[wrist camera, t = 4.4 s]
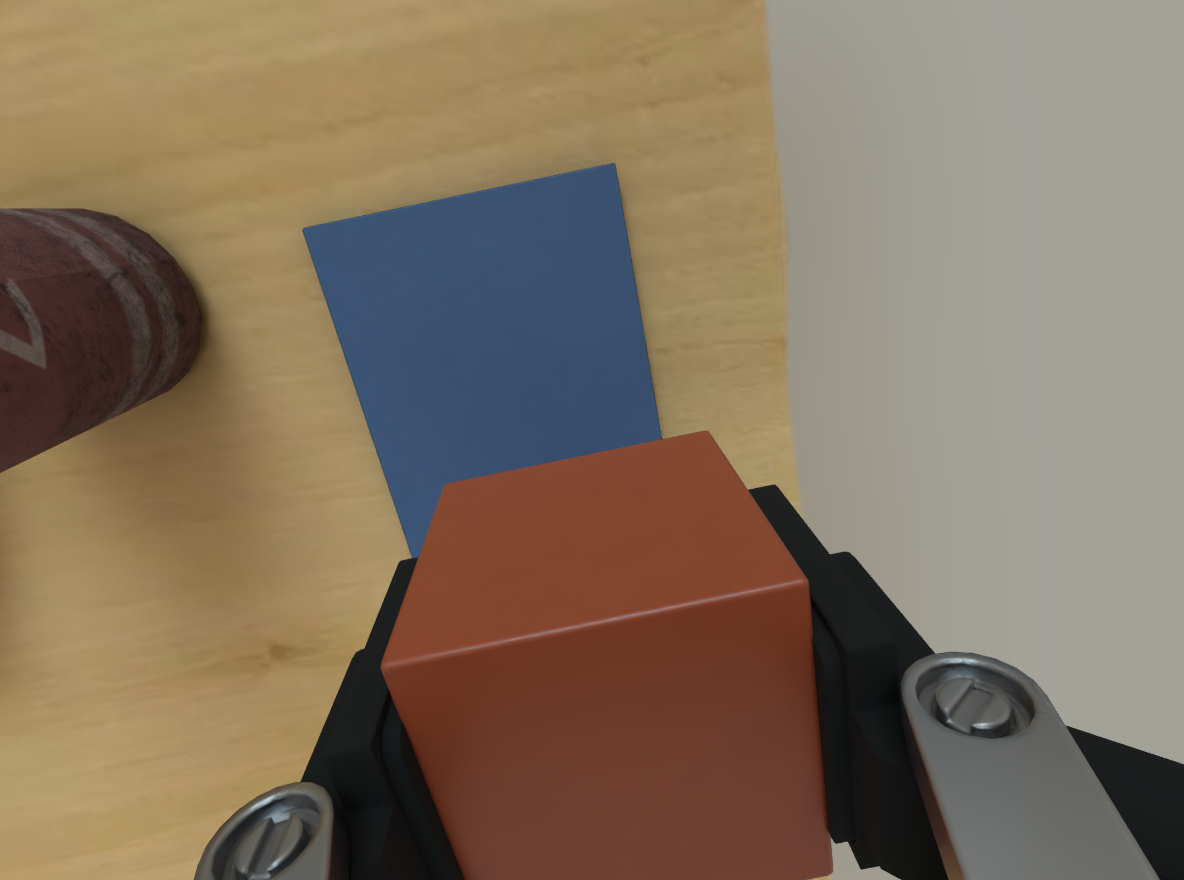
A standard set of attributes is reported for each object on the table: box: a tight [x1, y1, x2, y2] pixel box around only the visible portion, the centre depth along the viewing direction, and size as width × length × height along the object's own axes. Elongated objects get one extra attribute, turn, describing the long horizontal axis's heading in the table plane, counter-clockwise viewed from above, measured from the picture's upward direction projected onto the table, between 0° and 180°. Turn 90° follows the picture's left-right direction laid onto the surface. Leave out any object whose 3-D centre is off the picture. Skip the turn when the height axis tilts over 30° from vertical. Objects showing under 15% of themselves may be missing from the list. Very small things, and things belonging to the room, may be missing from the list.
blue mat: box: [303, 163, 662, 558], centre depth 24 cm, size 20×10×1 cm, turn 11°
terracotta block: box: [381, 431, 833, 880], centre depth 10 cm, size 4×4×4 cm
